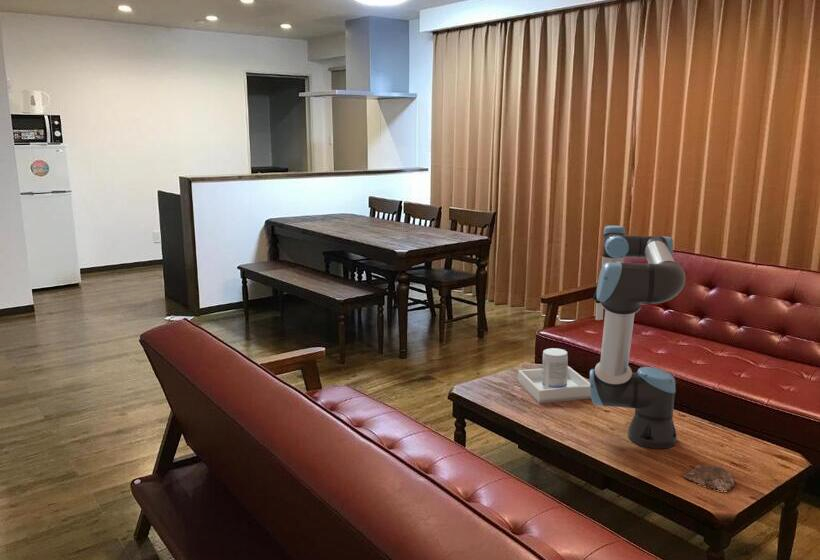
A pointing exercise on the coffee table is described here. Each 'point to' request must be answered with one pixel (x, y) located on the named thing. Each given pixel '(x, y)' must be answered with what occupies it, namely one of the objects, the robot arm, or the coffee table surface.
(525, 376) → the white bin
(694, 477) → the shell
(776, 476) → the coffee table surface
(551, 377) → the supplement tub
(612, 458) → the coffee table surface
